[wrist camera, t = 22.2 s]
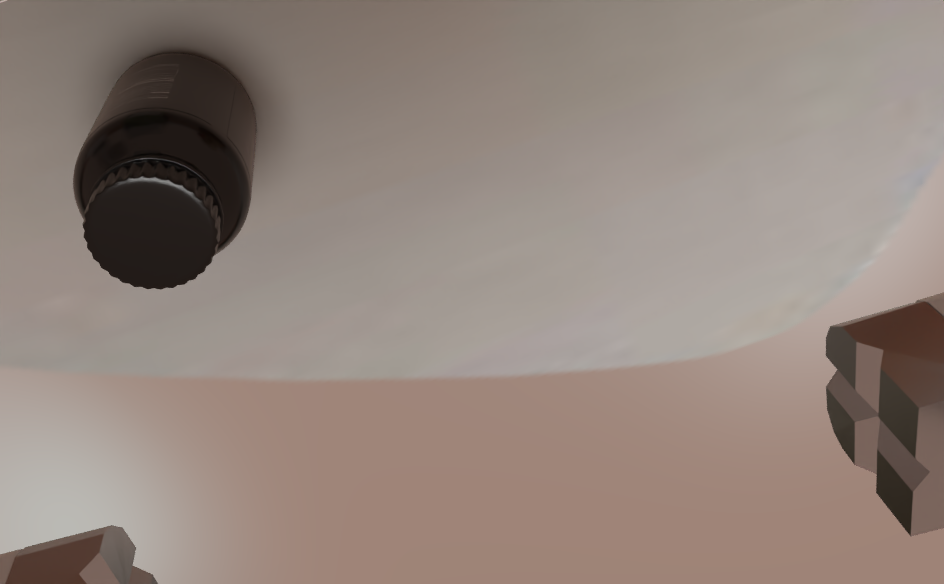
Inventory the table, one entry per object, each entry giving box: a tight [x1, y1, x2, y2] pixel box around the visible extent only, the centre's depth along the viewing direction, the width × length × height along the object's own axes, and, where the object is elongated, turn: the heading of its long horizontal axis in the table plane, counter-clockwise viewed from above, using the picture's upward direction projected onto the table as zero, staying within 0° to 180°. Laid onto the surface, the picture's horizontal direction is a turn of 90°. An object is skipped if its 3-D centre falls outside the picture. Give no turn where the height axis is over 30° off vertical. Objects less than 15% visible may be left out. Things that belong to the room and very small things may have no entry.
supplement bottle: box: [73, 53, 257, 289], centre depth 38 cm, size 7×7×12 cm
